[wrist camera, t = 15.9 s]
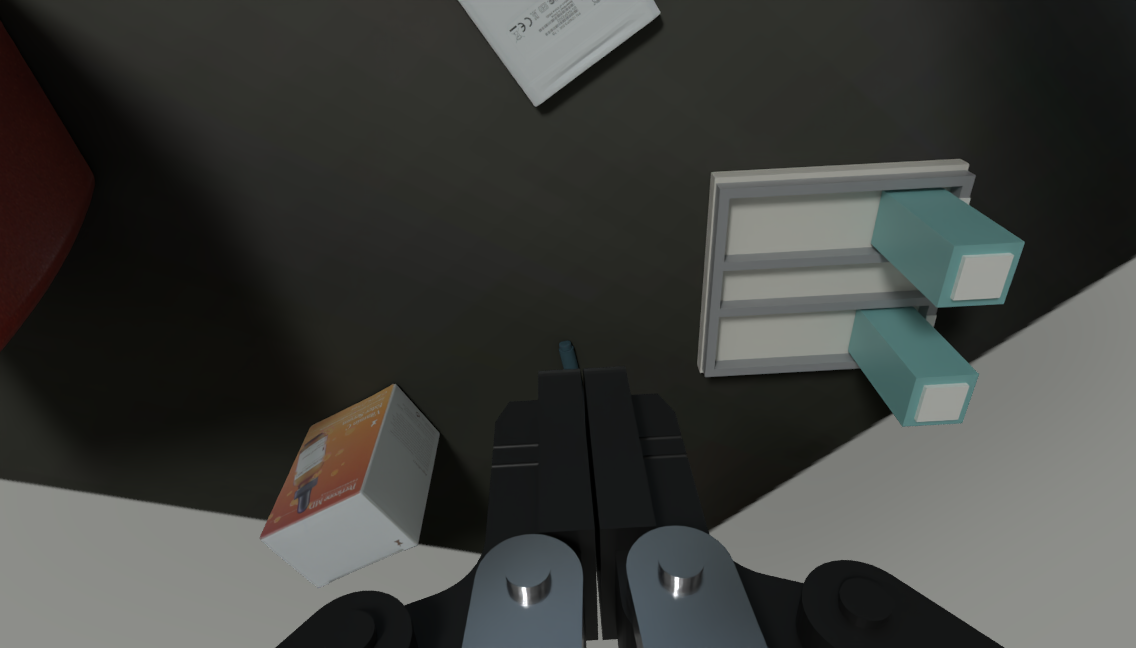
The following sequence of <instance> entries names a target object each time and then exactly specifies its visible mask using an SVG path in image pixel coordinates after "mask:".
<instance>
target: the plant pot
mask: <svg viewBox="0 0 1136 648" xmlns="http://www.w3.org/2000/svg"><path fill="white" fill-rule="evenodd" d="M94 188H95V178H94V175H93V173H92V171H91V169H90V168H89V166H88V164H87V163H86V161H85V159H84V158H83V156H82V155H81V153H80V151H79V150H78V148H77V146H76V145H75V143H74V141H73V140H72V138H71V136H70V134H69V133H68V131H67V130H66V128H65V126H64V125H63V123H62V121H61V120H60V118H59V116H58V115H57V113H56V111H55V110H54V108H53V106H52V105H51V103H50V101H49V100H48V98H47V96H46V95H45V93H44V92H43V90H42V88H41V87H40V85H39V83H38V82H37V80H36V78H35V77H34V75H33V73H32V72H31V70H30V68H29V67H28V65H27V64H26V62H25V60H24V59H23V57H22V56H21V54H20V52H19V50H18V48H17V47H16V45H15V44H14V42H13V40H12V39H11V37H10V36H9V34H8V33H7V31H6V29H5V28H4V26H3V24H2V22H1V21H0V352H1V351H2V349H3V348H4V347H5V346H6V345H7V343H8V342H9V341H10V340H11V339H12V337H13V336H14V335H15V333H16V332H17V331H18V330H19V328H20V327H21V326H22V324H23V323H24V322H25V320H26V319H27V318H28V316H29V315H30V314H31V312H32V311H33V310H34V308H35V307H36V305H37V304H38V302H39V301H40V300H41V298H42V297H43V295H44V294H45V293H46V291H47V290H48V288H49V286H50V285H51V283H52V281H53V280H54V278H55V276H56V275H57V273H58V272H59V270H60V268H61V266H62V265H63V263H64V261H65V259H66V257H67V256H68V254H69V252H70V250H71V248H72V246H73V244H74V242H75V240H76V238H77V235H78V233H79V231H80V228H81V226H82V224H83V221H84V219H85V216H86V213H87V211H88V208H89V205H90V202H91V199H92V195H93V191H94Z"/></svg>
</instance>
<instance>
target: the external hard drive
mask: <svg viewBox="0 0 1136 648" xmlns="http://www.w3.org/2000/svg"><path fill="white" fill-rule="evenodd" d="M458 1H459V2H460V4H461V5H462V7H463V8H464V9H465V11H466V12H467V14H468V15H469V16H470V18H471V19H472V21H473V22H474V23H475V25H476V26H477V27H478V29H479V30H480V32H481V33H482V34H483V36H484V37H485V38H486V40H487V41H488V43H489V44H490V45H491V47H492V48H493V50H494V51H495V52H496V54H497V55H498V56H499V58H500V59H501V61H502V62H503V63H504V65H505V66H506V67H507V69H508V70H509V71H510V73H511V74H512V76H513V77H514V78H515V80H516V81H517V83H518V84H519V85H520V87H521V88H522V89H523V91H524V92H525V94H526V95H527V96H528V98H529V99H530V100H531V102H532V103H533V105H534V106H535V107H537V106H538V105H540V104H541V103H543V102H544V101H546V100H547V99H548V98H549V97H551V96H552V95H553V94H555V93H556V92H557V91H559V90H560V89H561V88H563V87H564V86H565V85H567V84H568V83H569V82H571V81H572V80H573V79H575V78H576V77H577V76H579V75H580V74H581V73H583V72H584V71H585V70H587V69H588V68H589V67H591V66H592V65H593V64H595V63H596V62H597V61H599V60H600V59H601V58H603V57H604V56H606V55H607V54H608V53H609V52H611V51H612V50H613V49H615V48H616V47H617V46H619V45H620V44H622V43H623V42H624V41H626V40H627V39H628V38H630V37H631V36H632V35H634V34H635V33H636V32H638V31H639V30H640V29H642V28H643V27H644V26H646V25H647V24H648V23H650V22H651V21H652V20H654V19H655V18H656V17H657V16H658V15H659V14H660V11H659V9H658V7H657V6H656V4H655V2H654V0H458Z"/></svg>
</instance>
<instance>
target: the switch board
mask: <svg viewBox="0 0 1136 648" xmlns="http://www.w3.org/2000/svg"><path fill="white" fill-rule="evenodd" d="M968 168H969V163H967V162H965V161H963V160H961V159H947V160H929V161H910V162H891V163H873V164H854V165H835V166H817V167H798V168H779V169H761V170H742V171H723V172H711V180H710V194H709V208H708V222H707V236H706V250H705V263H704V277H703V291H702V305H701V319H700V333H699V346H698V360H697V365H698V368H699V371H700V373H704V376H705V377H716V376H733V375H751V374H769V373H786V372H804V371H821V370H839V369H856V368H860V367H859V366H858V364H857V363H856V361H855V360H854V359H853V357H852V356H851V354H850V353H849V352H848V347H849V342H850V337H851V333H852V328H853V323H854V319H855V314H856V310H857V309H875V308H893V307H910V306H913V307H914V308H915V309H916V310H917V311H918V312H919V313H920V314H921V315H922V316H923V317H924V318H925V319H926V320H927V321H928V322H929V323H930V324H931V325H932V326H933V327H934V324H935V320H936V317H937V315H936V312H937V309H938V308H937V307H936V306H935V305H934V304H933V303H932V302H931V301H930V300H928V299H927V298H926V297H925V296H924V295H923V294H922V293H921V292H920V291H919V290H918V289H917V288H916V287H915V286H914V285H913V284H912V283H911V282H910V281H909V280H908V279H907V278H906V277H905V276H904V275H903V274H902V273H901V272H900V271H899V270H898V269H897V268H896V267H895V266H893V265H892V264H891V263H890V262H889V261H888V260H887V259H886V258H885V257H884V256H883V255H882V254H881V253H880V252H879V251H878V250H877V249H876V248H875V247H874V246H873V245H872V244H871V240H872V236H873V231H874V226H875V222H876V217H877V212H878V208H879V203H880V198H881V193H882V190H899V189H918V188H936V187H942V188H944V189H945V190H947V191H948V192H950V193H952V194H953V195H955V196H956V197H958V198H959V199H961V200H962V201H964V202H965V203H967V204H968V205H969V202H970V199H971V198H969V197H970V194H971V190H972V187H973V183H974V180H975V176H976V175H974V174H972V173H971V172H969V171H968Z"/></svg>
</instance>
